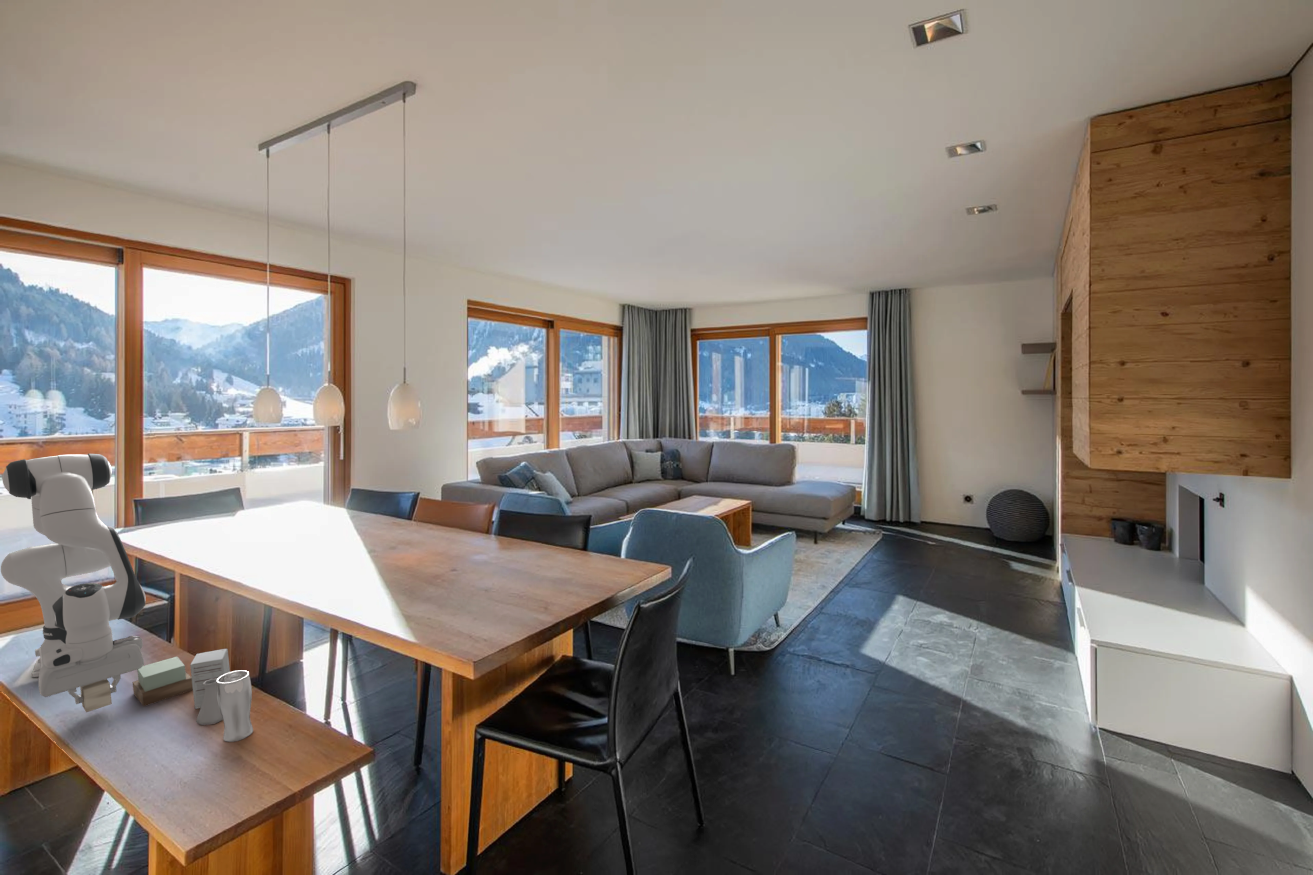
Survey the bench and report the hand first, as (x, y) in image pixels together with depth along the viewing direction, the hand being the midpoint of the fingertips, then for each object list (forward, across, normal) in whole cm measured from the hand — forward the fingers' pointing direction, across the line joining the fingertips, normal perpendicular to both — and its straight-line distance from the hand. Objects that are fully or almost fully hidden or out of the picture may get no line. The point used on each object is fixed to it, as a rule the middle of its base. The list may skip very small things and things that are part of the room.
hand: (96, 697), depth 160 cm
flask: (+5, -18, +28) cm, 33 cm away
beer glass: (+4, -19, +42) cm, 46 cm away
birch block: (+2, 0, 0) cm, 2 cm away
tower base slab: (+5, -14, -1) cm, 15 cm away
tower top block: (+1, -14, 0) cm, 14 cm away
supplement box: (+5, -21, +16) cm, 27 cm away
